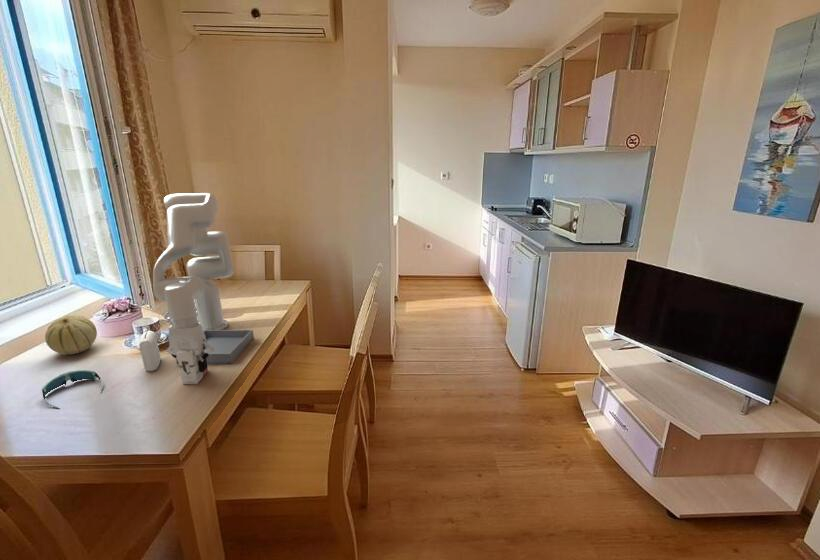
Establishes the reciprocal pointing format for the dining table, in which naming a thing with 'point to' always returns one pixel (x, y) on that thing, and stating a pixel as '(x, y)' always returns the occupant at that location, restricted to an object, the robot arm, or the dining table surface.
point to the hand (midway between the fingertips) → (194, 369)
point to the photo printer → (149, 351)
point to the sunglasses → (68, 376)
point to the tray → (227, 344)
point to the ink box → (189, 367)
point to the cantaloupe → (70, 334)
